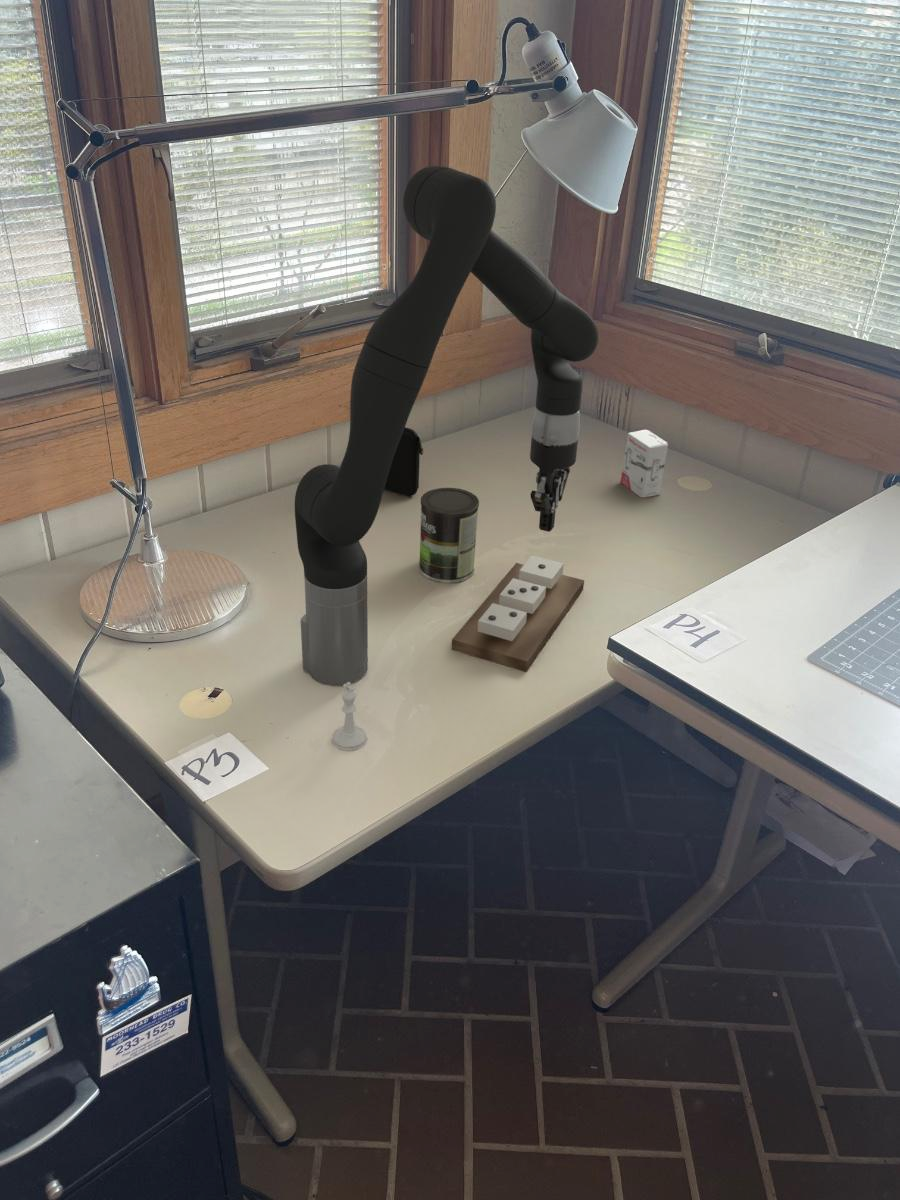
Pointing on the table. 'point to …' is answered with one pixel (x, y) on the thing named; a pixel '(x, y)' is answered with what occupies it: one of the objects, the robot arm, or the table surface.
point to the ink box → (644, 463)
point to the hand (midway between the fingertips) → (546, 529)
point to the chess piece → (349, 724)
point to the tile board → (532, 633)
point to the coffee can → (448, 534)
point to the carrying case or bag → (405, 464)
